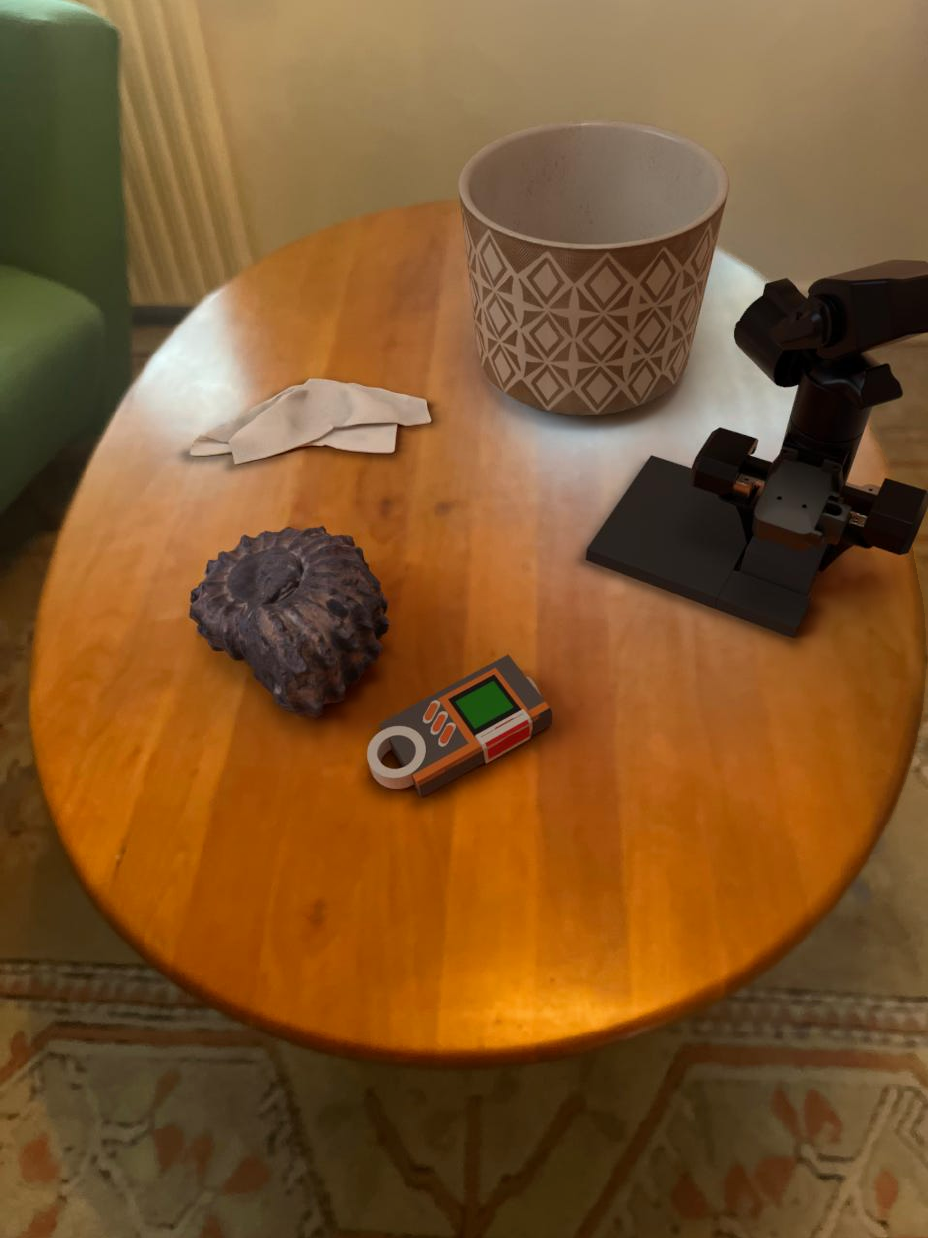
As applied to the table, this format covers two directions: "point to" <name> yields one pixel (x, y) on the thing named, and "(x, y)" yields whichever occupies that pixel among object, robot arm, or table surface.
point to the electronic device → (459, 728)
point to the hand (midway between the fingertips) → (785, 556)
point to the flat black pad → (690, 548)
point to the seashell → (294, 613)
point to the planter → (589, 260)
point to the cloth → (316, 421)
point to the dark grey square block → (783, 564)
